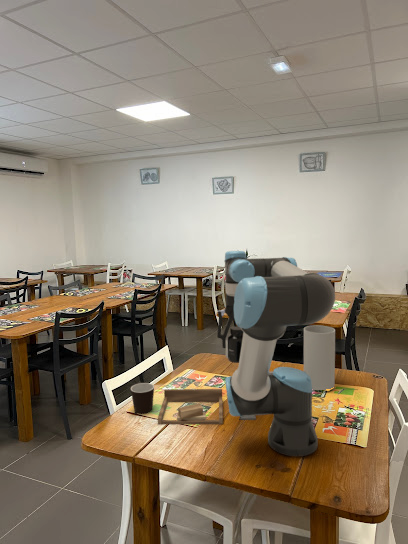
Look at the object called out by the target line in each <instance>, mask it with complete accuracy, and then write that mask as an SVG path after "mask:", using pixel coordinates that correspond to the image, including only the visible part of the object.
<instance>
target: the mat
mask: <svg viewBox="0 0 408 544" xmlns="http://www.w3.org/2000/svg"><path fill="white" fill-rule="evenodd" d="M256 416H257V415H253V416H243V417H240V416H239V417H238V418H239V419H238V421H240V420H241V421H246V420H247V421H256V420H257V418H256Z"/></svg>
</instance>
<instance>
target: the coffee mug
mask: <svg viewBox="0 0 408 544" xmlns="http://www.w3.org/2000/svg"><path fill="white" fill-rule="evenodd" d="M130 393H131V394H130V395H131V399H132V404H133V409H134V410H133V411H134V415H135V416H137V414H138V415H146V414H149V413H152V411H153V409H154V394H155V385H154V384H152V383H148V382H139V383H136V384H134V385H131V387H130Z"/></svg>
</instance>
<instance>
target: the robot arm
mask: <svg viewBox="0 0 408 544" xmlns="http://www.w3.org/2000/svg"><path fill="white" fill-rule="evenodd" d="M224 272H225V274H224V275H225V294H226V295H225V308H224V309H221V310H220V309H218V311H217V316H218V321H217V322H218V324H217V335H216V336H217V337H216V338H217V339H220V340H222V343H221V344H222V349H225V359H226V358H227V359H228V334H229V333H228V332H230V328H231V324H232V322H233V321H235V324H236V327H241V329H242V331H243V332H244V333H243V340H242V346H241V353H240V360H239V363H238V366H237V368H236V369H235V371H234V372H233V373H232V375H229V376H226V377H225V379H224V381H225V382H224V383H225V389H226V398H227V407H228V413H229V414H230V415H231V416H232V417H239V418H240V417H243V416H253V415H255V416H264V415H265V416H266V415H273V419H272V421H271V424H270V428H269V430H268V433H267V434H268V435H267V440H268V441H267V442H268V445H269V446H270V448H271V449H272V450H273V451H275V452H278V453H279V454H281V455H286V456H290V457H304V456H308V455H310V454H313V453H314V452H315V451H316V450H317V448H318V444H319V443H318V435H317V433H316V429H315V427H314V423H313V420H312V419H313V415H312V414H313V392H314V391H313V390H312V380H311V378H310V376H309V375H308V374H307V373H305V372H304V370H301V369H298V368H296V367H295V368H294V367H290V366H289V367H288V366H287V367H286V366H278V367H275V368H274V369H273V371H272V372H273V374H272V375H268V373H269V372H270V368H271V365H272V360H273V357H274V352H275V349H276V344H277V341H278V339H280V338H282V337H283V336H284V334H285V332H286V330H287V327H292V326H296V327H297V326H306V325H307V326H310V325H312V324H315V323H317V322H319V321H321V320H323V319H324V318H326V317H327V315H329V314H330V312H331V310H333V308H334V305H335V302H336V292H335V288H334V286H333V284H332V283H331V281H330V280H329V279H328V278H326V277H324V276H323V275H322V274H319V273H315V272H307V271H305V270H303V269H302V268H300V267H298V263H297V261H296V259H295V258H294V257H286V256H284V257H273V258H272V257H269V258H268V257H267V258H247V253H246V252H245V251H243V250H230V251H229V250H228V251H226V252H225V253H224ZM225 314H226V316H227V318H228V319H227V321H226V325H225V327H224V329H223V333H222V326H223V317H224V316H225Z"/></svg>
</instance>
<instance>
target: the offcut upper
mask: <svg viewBox="0 0 408 544" xmlns="http://www.w3.org/2000/svg"><path fill="white" fill-rule="evenodd" d="M177 410H178V411H177V415H179V417H180V418H181V419H182V420H183V419H187V418H191V417H196V416H200V415H203V412H204V407H203V406H202V405H201V403H194V404H190V405H183V406H180V407H178V408H177Z"/></svg>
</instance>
